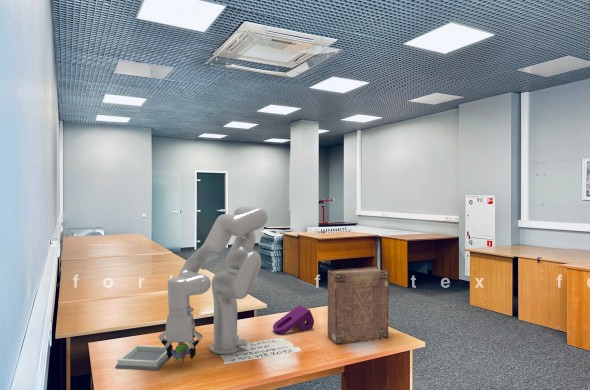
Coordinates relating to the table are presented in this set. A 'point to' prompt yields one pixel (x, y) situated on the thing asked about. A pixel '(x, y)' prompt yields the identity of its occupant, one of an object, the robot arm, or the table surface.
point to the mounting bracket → (295, 321)
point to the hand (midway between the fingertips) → (181, 357)
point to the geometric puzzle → (180, 351)
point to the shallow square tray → (144, 358)
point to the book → (357, 304)
